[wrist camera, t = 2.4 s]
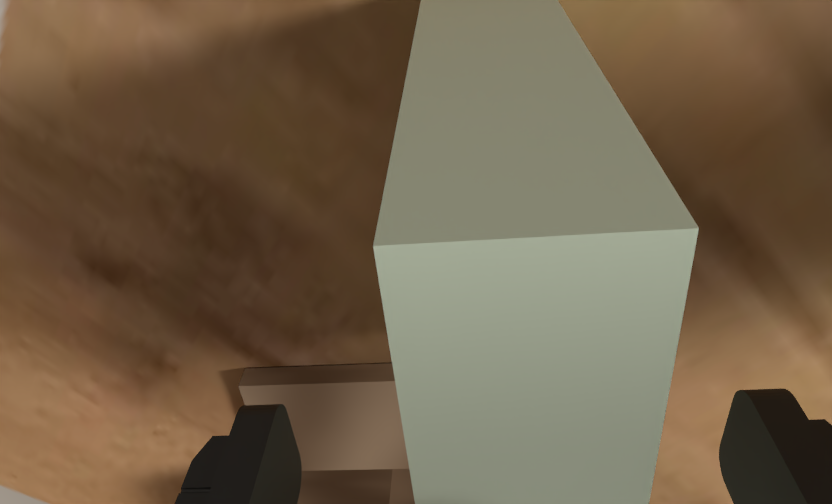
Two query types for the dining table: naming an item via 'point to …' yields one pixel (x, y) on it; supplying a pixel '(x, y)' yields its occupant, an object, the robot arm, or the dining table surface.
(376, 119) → the dining table surface
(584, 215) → the upright sage green panel
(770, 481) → the robot arm
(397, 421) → the slot plate
